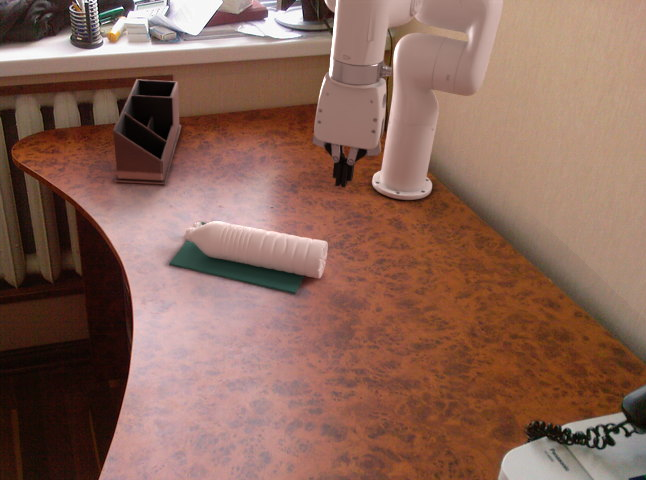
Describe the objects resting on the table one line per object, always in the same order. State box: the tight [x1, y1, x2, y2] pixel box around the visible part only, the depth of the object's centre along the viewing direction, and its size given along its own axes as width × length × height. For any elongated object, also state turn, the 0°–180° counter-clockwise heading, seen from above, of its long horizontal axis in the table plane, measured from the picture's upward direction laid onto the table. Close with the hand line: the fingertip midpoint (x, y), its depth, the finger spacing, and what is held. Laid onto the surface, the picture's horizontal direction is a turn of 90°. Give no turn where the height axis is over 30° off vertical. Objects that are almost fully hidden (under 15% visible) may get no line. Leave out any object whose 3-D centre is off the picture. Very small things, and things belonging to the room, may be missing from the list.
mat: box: [169, 221, 306, 295], centre depth 132 cm, size 15×23×1 cm, turn 72°
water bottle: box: [184, 220, 329, 279], centre depth 129 cm, size 9×6×25 cm
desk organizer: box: [112, 78, 182, 186], centre depth 160 cm, size 10×29×11 cm, turn 179°
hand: (342, 182), depth 118 cm, fingers closed
